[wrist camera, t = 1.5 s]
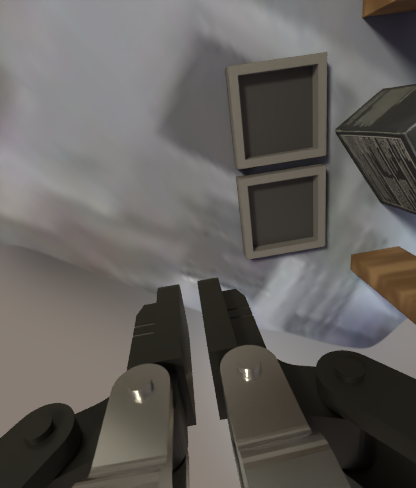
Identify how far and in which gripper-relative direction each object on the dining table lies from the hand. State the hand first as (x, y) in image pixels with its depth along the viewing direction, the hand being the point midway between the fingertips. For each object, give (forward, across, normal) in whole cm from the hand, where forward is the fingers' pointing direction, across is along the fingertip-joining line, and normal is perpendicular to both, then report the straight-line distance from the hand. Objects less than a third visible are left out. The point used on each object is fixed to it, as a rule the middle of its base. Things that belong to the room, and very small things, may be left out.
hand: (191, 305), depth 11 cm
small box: (+23, -22, 0) cm, 32 cm away
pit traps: (+23, -10, 0) cm, 25 cm away
